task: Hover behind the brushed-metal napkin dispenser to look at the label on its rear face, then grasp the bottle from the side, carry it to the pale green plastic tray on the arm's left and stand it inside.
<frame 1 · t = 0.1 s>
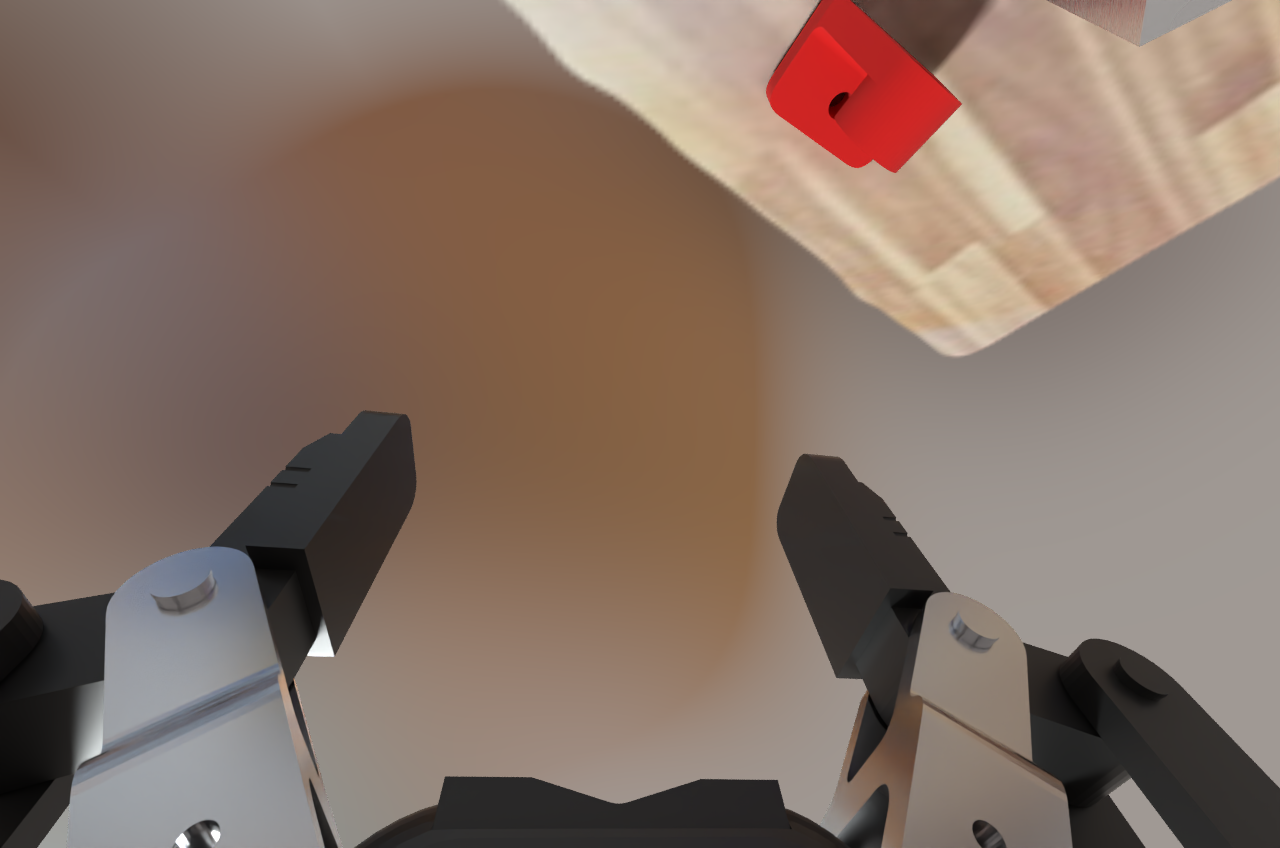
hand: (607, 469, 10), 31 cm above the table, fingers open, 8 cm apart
bracket: (841, 80, 32), on the table
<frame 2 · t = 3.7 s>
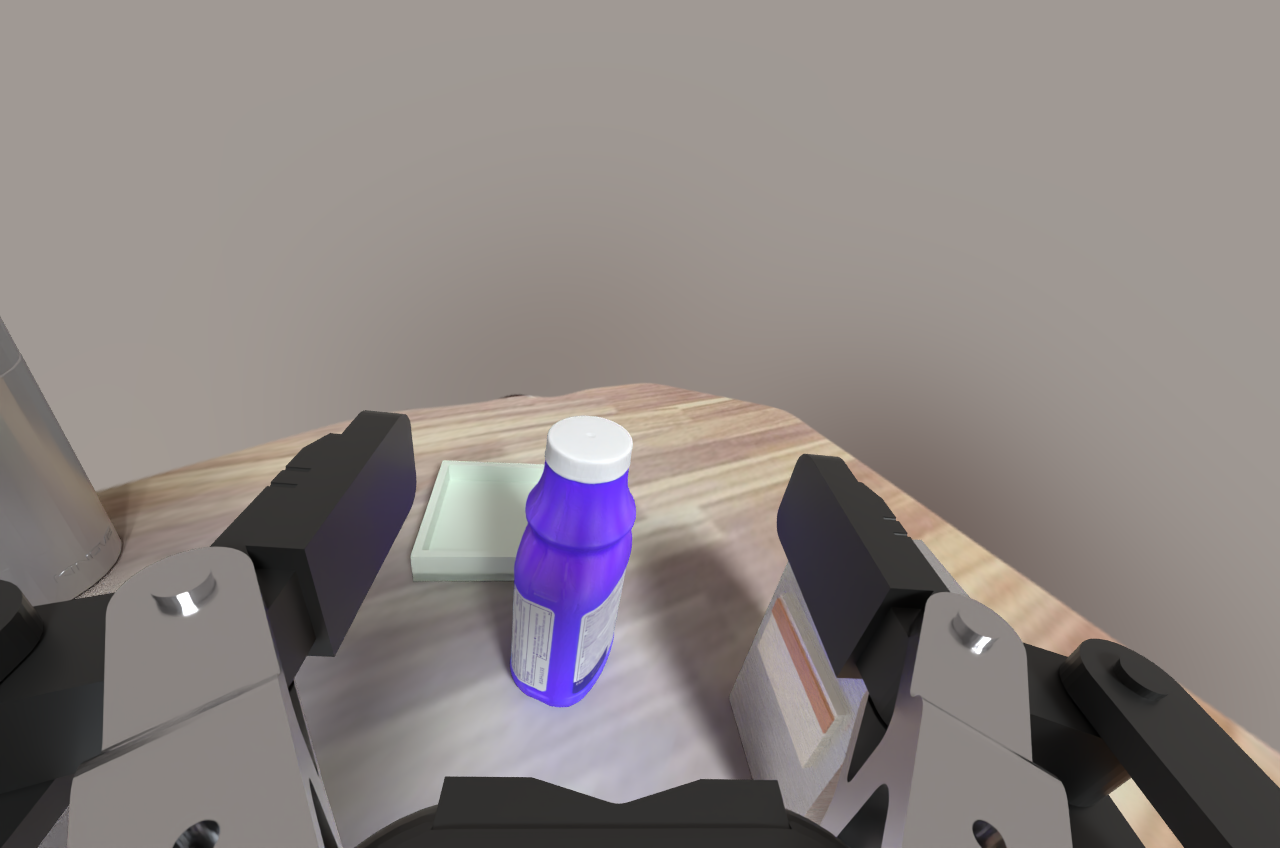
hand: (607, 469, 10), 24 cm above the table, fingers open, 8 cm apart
dispenser: (804, 762, 29), on the table
tray: (502, 527, 41), on the table
bottle: (562, 661, 32), on the table
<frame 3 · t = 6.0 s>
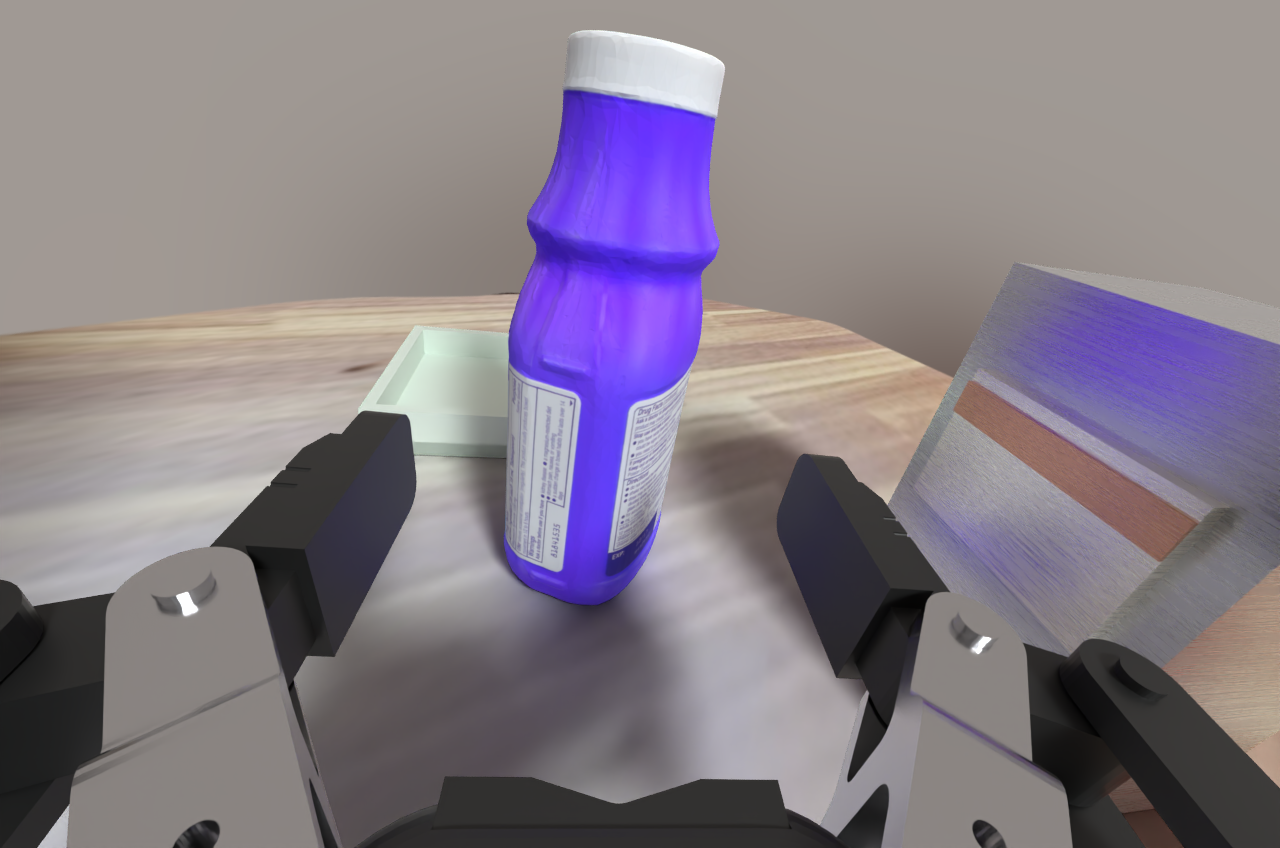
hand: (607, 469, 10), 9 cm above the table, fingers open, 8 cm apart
dispenser: (976, 688, 18), on the table
tray: (494, 404, 30), on the table
bottle: (584, 551, 21), on the table
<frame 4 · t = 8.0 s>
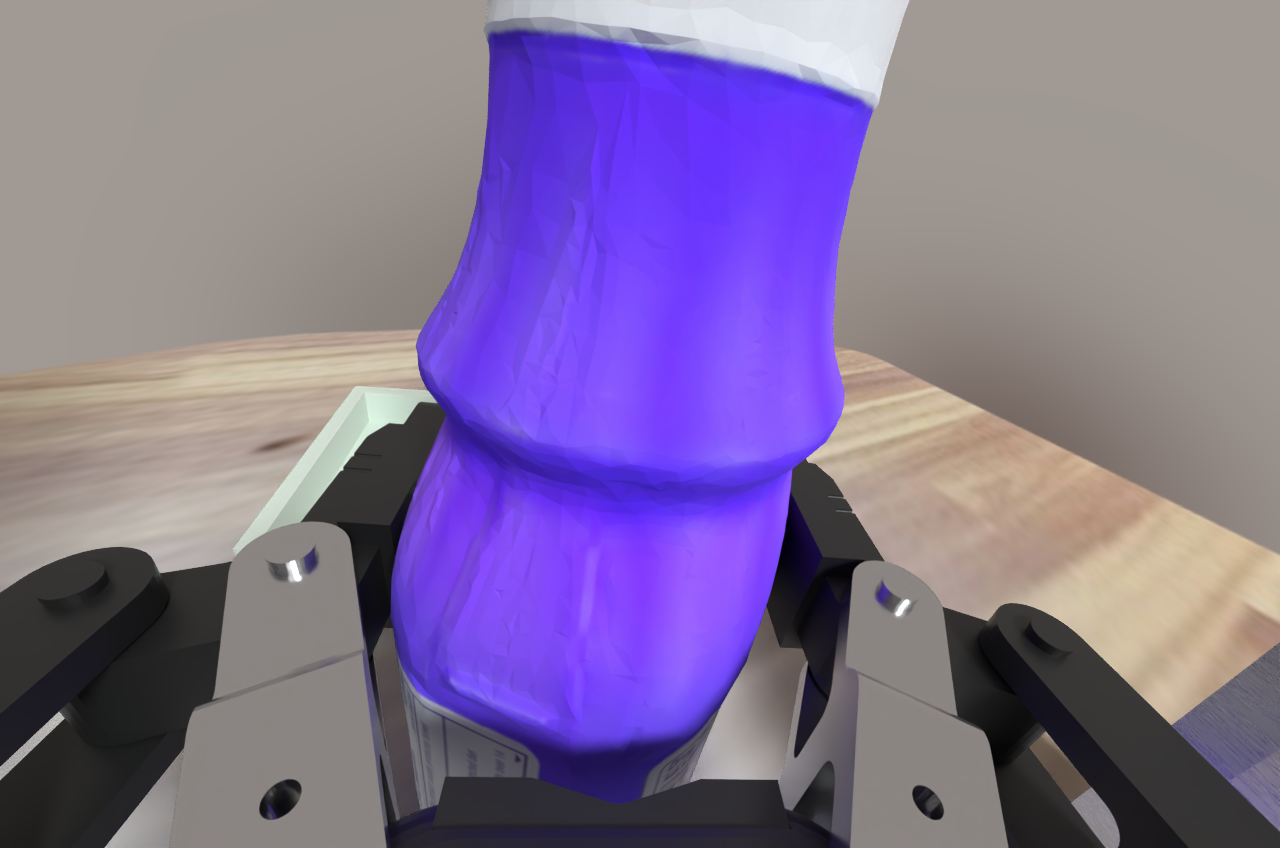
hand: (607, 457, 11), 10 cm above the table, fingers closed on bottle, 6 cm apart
tray: (454, 498, 23), on the table
bottle: (567, 791, 14), on the table, touching gripper
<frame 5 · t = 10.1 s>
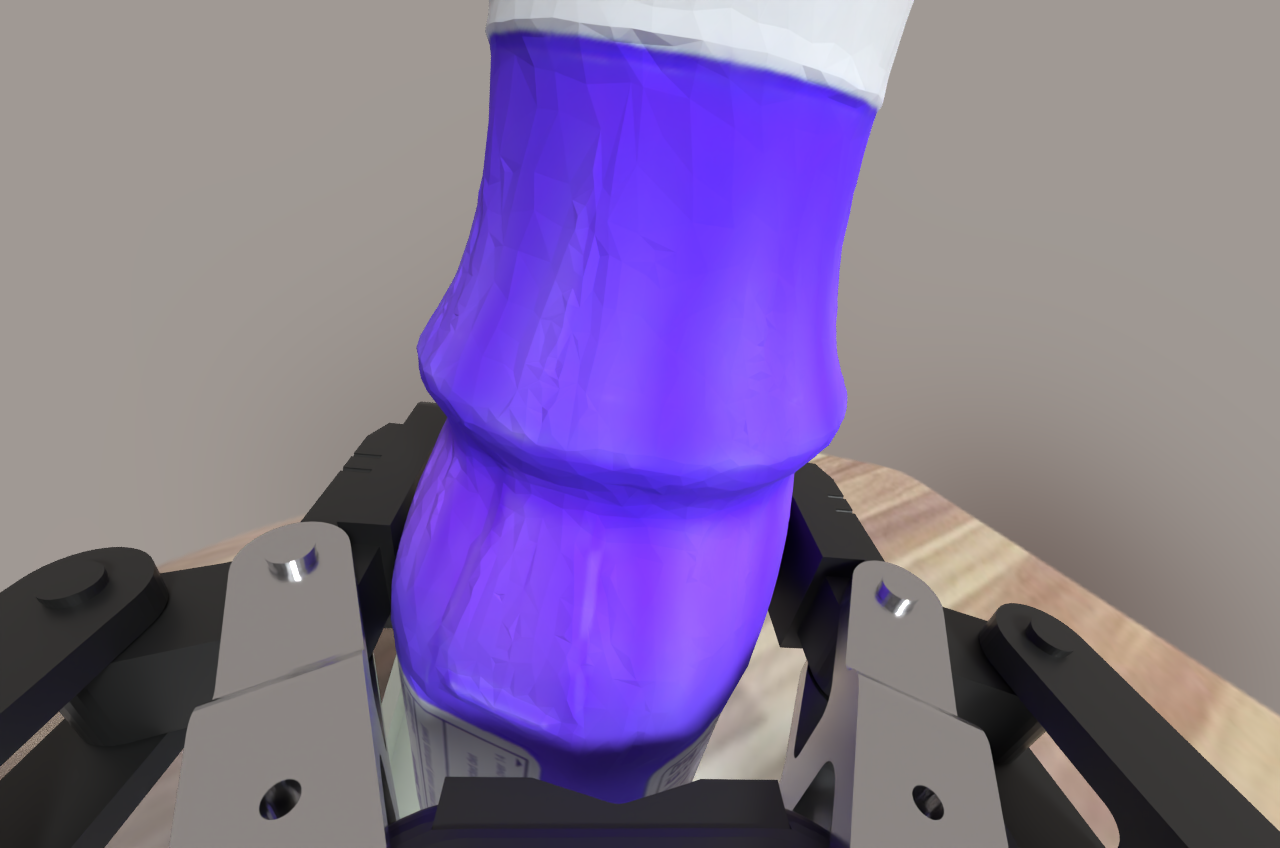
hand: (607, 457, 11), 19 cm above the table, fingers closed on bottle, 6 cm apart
tray: (512, 773, 22), on the table
bottle: (568, 793, 14), point 9 cm above the table, touching gripper
when the fingers open (11 cm above the table, at t = 12.4 s): bottle stays where it is, resting on tray.
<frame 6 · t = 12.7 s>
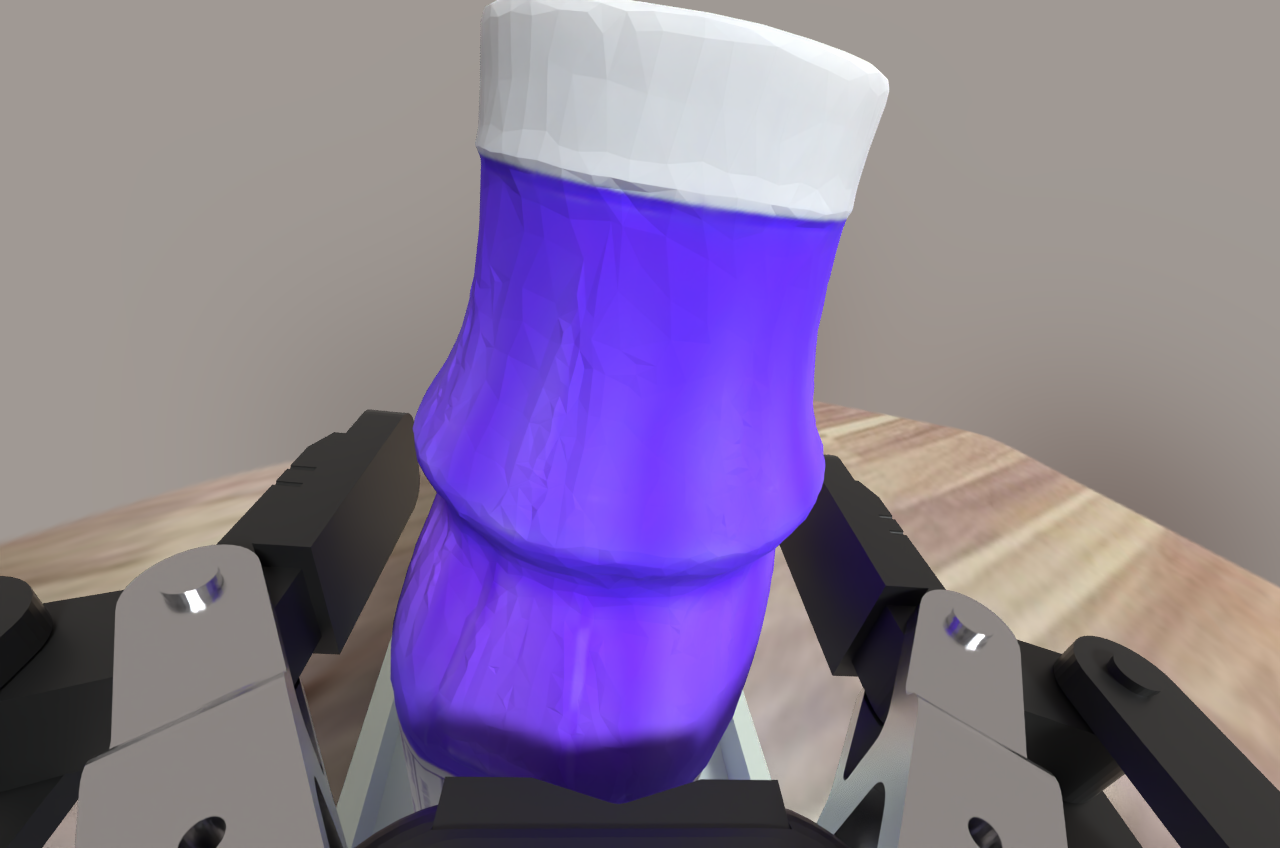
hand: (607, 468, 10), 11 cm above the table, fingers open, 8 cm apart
tray: (563, 817, 14), on the table
bottle: (564, 814, 14), point 1 cm above the table, touching tray
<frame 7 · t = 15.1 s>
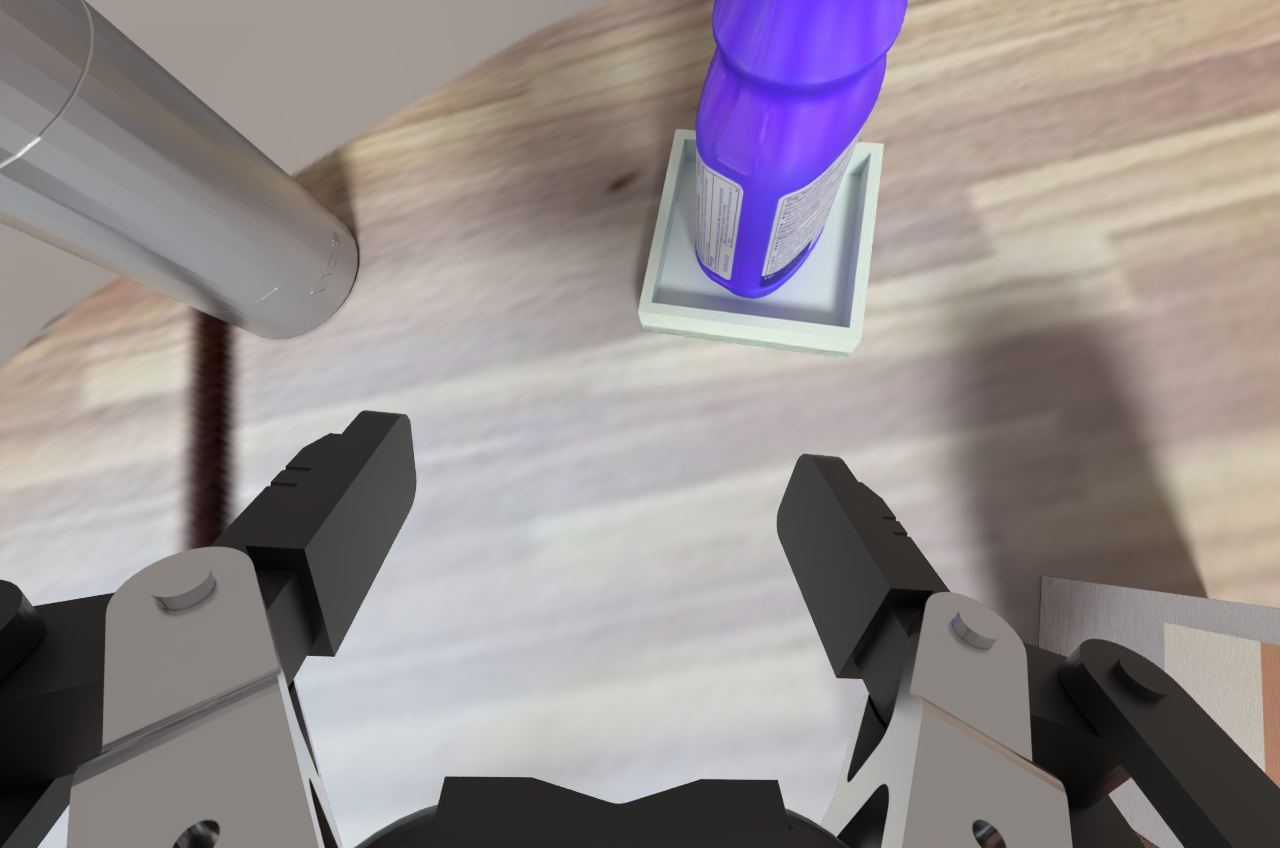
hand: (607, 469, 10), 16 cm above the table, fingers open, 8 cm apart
dispenser: (1124, 684, 22), on the table
tray: (756, 253, 28), on the table
bottle: (756, 249, 28), point 1 cm above the table, touching tray
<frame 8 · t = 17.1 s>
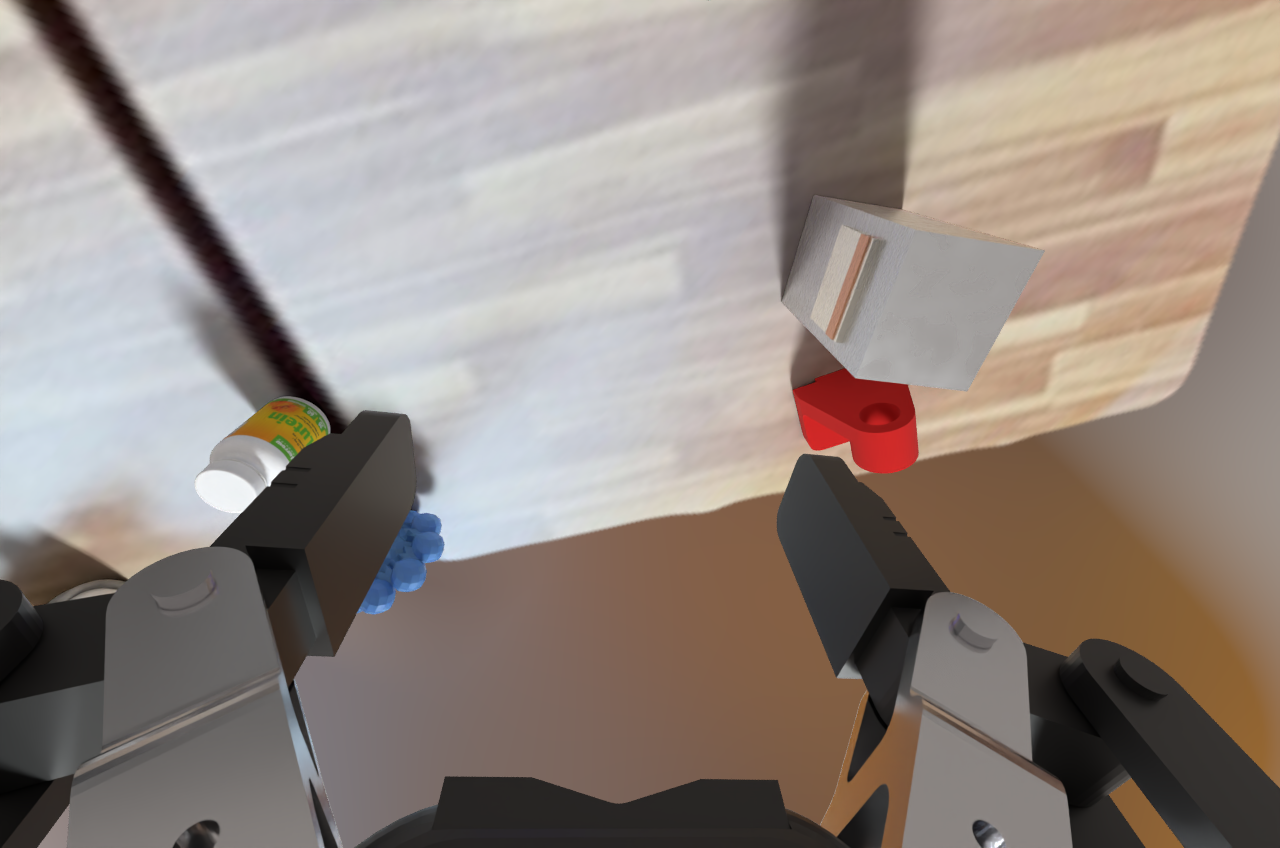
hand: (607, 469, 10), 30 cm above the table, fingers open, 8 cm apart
bracket: (842, 397, 45), on the table
pipe fitting: (100, 601, 54), on the table
dispenser: (839, 257, 38), on the table
grapes: (405, 505, 49), on the table
supplement bottle: (300, 420, 43), on the table
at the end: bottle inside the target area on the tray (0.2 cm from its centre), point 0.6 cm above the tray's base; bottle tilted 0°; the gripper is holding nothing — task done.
